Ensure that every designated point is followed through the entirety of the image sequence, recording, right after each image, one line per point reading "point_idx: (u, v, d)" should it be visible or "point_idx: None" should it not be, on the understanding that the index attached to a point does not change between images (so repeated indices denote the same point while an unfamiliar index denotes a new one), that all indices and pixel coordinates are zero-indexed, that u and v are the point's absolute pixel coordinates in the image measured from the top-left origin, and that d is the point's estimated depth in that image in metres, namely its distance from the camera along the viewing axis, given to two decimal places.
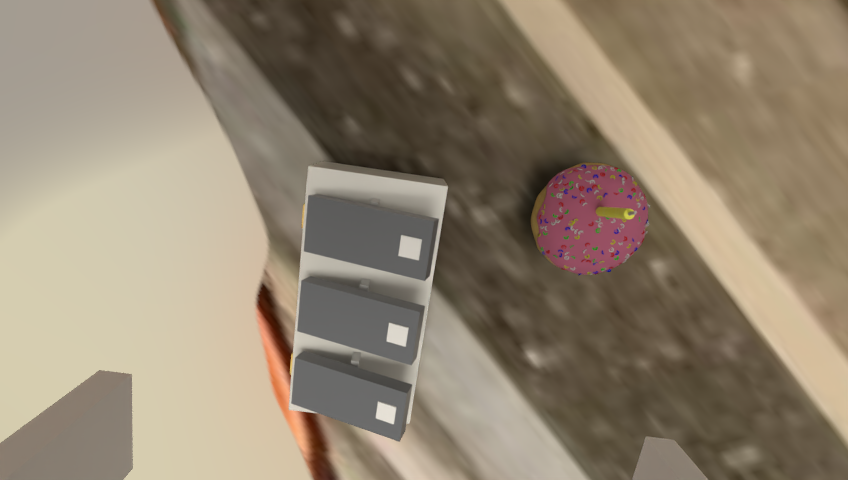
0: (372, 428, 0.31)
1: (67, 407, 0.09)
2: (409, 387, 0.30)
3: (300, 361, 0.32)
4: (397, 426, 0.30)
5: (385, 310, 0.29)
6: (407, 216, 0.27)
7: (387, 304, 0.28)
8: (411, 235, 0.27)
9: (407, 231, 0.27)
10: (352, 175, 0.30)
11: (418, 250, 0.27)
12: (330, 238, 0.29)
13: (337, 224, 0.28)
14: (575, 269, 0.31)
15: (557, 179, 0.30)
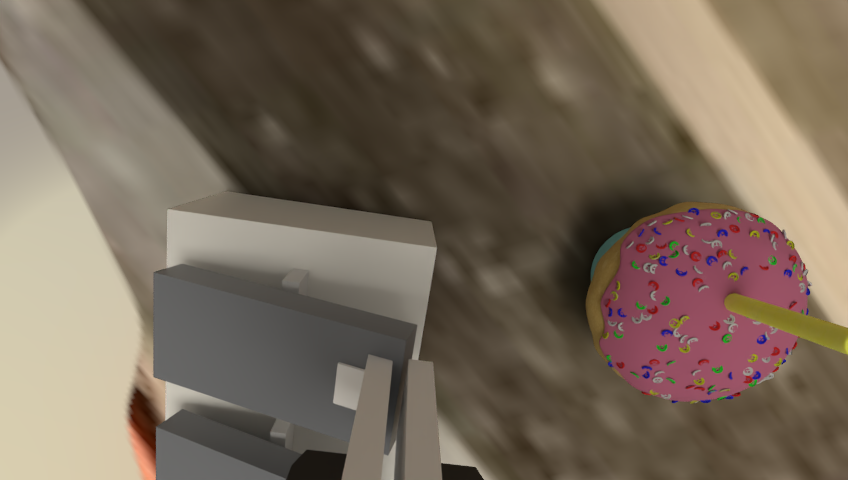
0: None
1: (375, 380, 0.11)
2: None
3: None
4: None
5: None
6: (350, 326, 0.13)
7: None
8: (358, 365, 0.13)
9: (350, 356, 0.13)
10: (254, 227, 0.16)
11: None
12: (200, 357, 0.14)
13: (212, 331, 0.14)
14: None
15: (642, 235, 0.16)
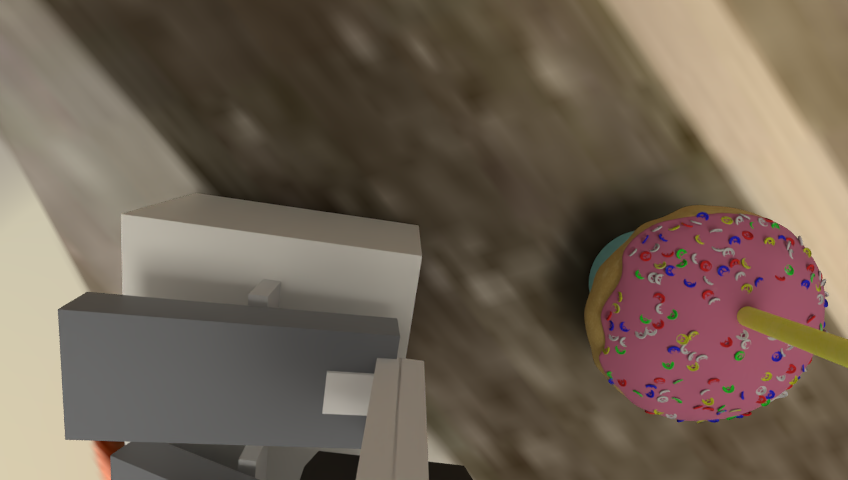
0: None
1: (385, 382, 0.11)
2: None
3: None
4: None
5: None
6: (338, 332, 0.12)
7: None
8: (349, 369, 0.13)
9: (340, 362, 0.12)
10: (219, 234, 0.14)
11: (367, 396, 0.13)
12: (140, 401, 0.12)
13: (158, 367, 0.12)
14: (675, 416, 0.16)
15: (647, 242, 0.15)
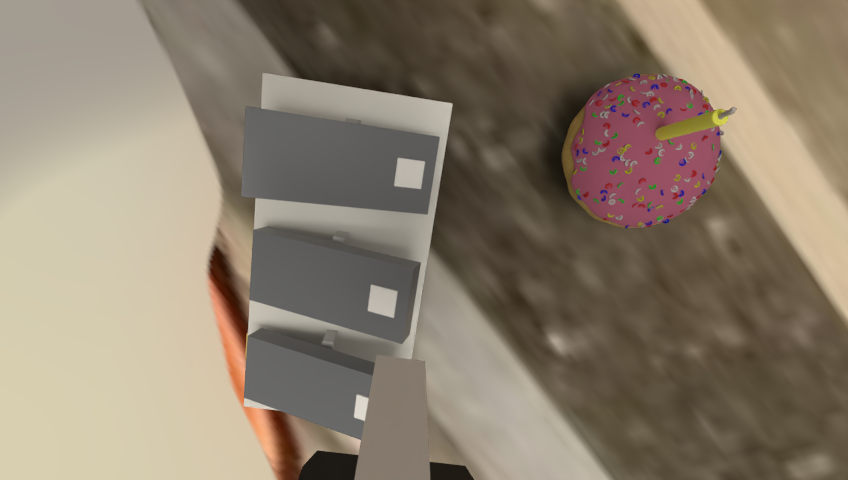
0: (349, 431, 0.23)
1: (384, 381, 0.11)
2: None
3: (254, 341, 0.24)
4: None
5: (366, 267, 0.21)
6: (404, 132, 0.21)
7: (369, 259, 0.21)
8: (410, 157, 0.21)
9: (405, 152, 0.21)
10: (323, 87, 0.22)
11: (420, 175, 0.21)
12: (288, 171, 0.19)
13: (300, 149, 0.19)
14: (622, 218, 0.23)
15: (600, 95, 0.22)
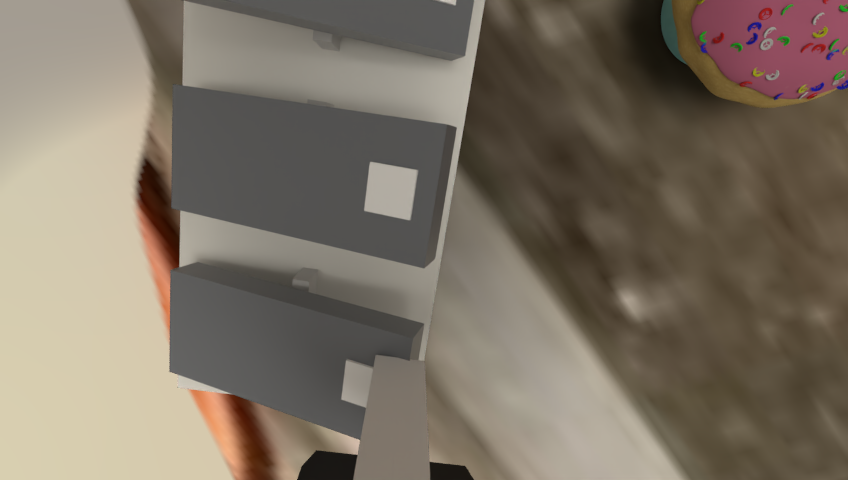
0: (335, 422, 0.14)
1: (382, 381, 0.11)
2: (418, 328, 0.13)
3: (181, 277, 0.15)
4: None
5: (361, 131, 0.12)
6: None
7: (367, 115, 0.12)
8: None
9: None
10: None
11: None
12: None
13: None
14: (777, 78, 0.14)
15: None
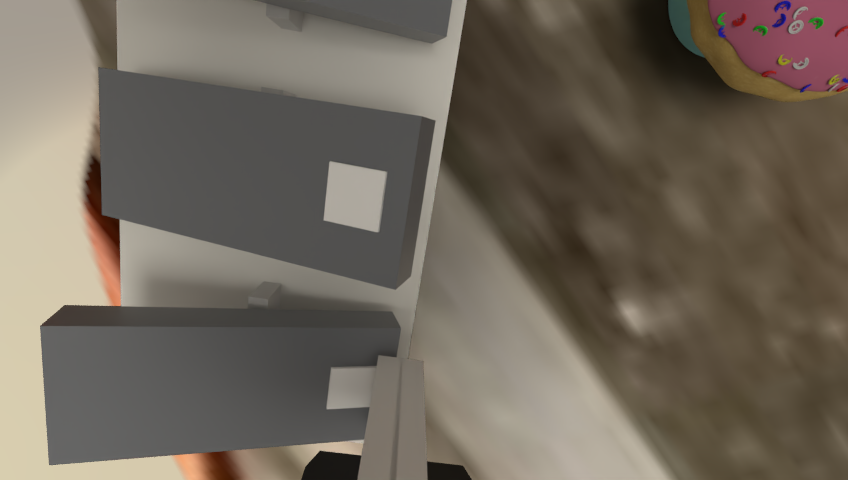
0: (317, 435, 0.13)
1: (386, 382, 0.11)
2: (393, 317, 0.14)
3: (65, 332, 0.10)
4: None
5: (319, 125, 0.10)
6: None
7: (325, 105, 0.10)
8: None
9: None
10: None
11: None
12: None
13: None
14: (805, 67, 0.13)
15: None
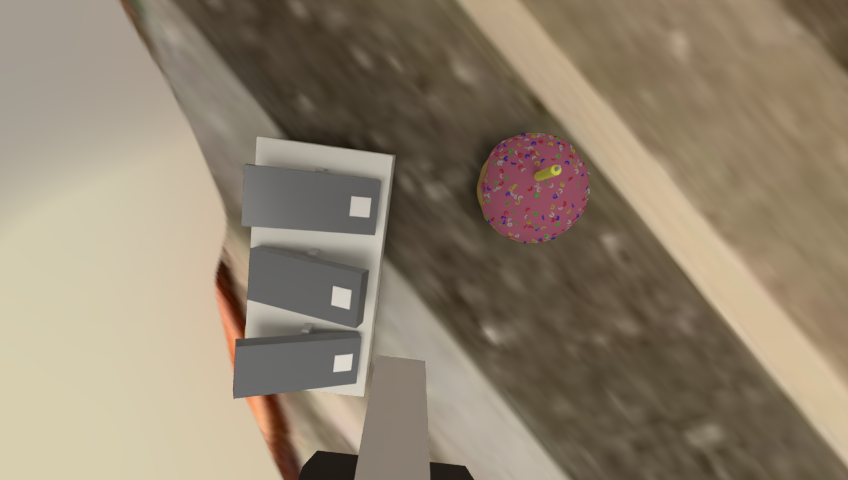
0: (329, 383, 0.33)
1: (383, 381, 0.11)
2: (357, 333, 0.34)
3: (243, 348, 0.29)
4: (354, 370, 0.33)
5: (329, 274, 0.29)
6: (356, 178, 0.29)
7: (331, 268, 0.29)
8: (360, 195, 0.30)
9: (357, 192, 0.30)
10: (300, 146, 0.31)
11: (368, 208, 0.30)
12: (273, 208, 0.28)
13: (282, 192, 0.28)
14: (519, 236, 0.32)
15: (498, 148, 0.31)
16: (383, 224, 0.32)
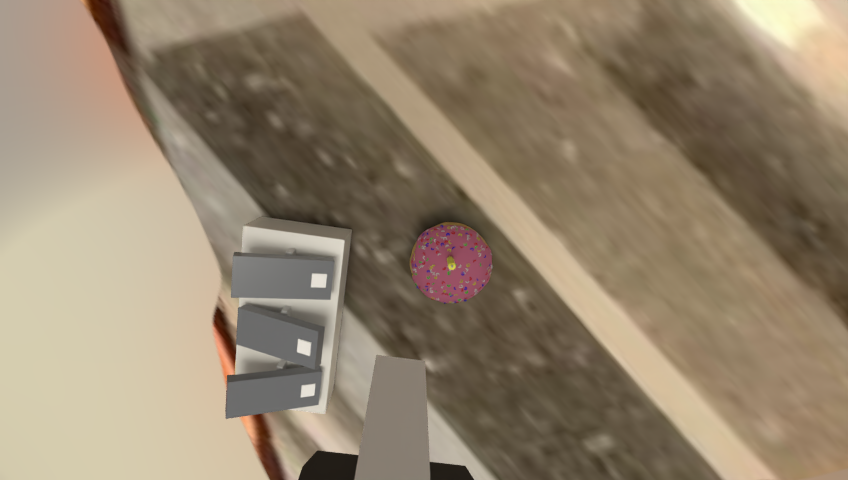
0: (298, 405, 0.44)
1: (384, 381, 0.11)
2: (319, 367, 0.45)
3: (233, 383, 0.40)
4: (316, 395, 0.45)
5: (295, 330, 0.40)
6: (315, 260, 0.40)
7: (297, 326, 0.40)
8: (318, 272, 0.41)
9: (316, 270, 0.40)
10: (275, 232, 0.42)
11: (324, 281, 0.41)
12: (254, 284, 0.39)
13: (260, 273, 0.39)
14: (439, 299, 0.43)
15: (423, 235, 0.42)
16: (338, 288, 0.43)
